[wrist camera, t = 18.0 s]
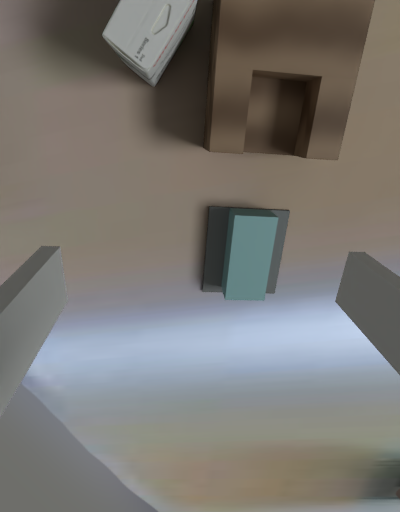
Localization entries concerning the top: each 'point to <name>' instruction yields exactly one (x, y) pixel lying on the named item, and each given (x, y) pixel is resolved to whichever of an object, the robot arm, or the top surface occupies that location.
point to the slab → (248, 253)
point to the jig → (283, 75)
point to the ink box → (149, 33)
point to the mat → (218, 245)
